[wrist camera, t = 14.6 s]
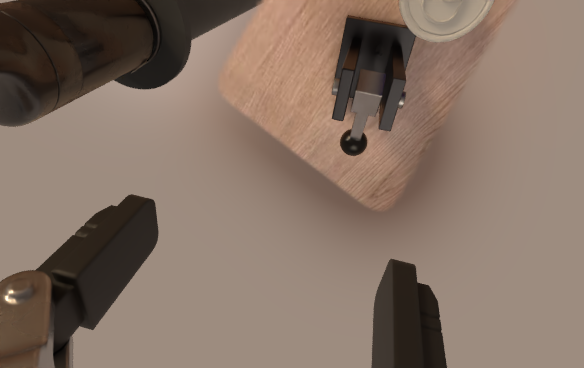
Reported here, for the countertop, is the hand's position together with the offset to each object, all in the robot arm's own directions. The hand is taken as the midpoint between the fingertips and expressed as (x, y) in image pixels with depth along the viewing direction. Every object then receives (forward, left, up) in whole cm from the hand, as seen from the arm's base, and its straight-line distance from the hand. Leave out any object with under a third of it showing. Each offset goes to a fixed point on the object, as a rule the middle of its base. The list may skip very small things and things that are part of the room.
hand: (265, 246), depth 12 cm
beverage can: (+6, +6, -32) cm, 33 cm away
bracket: (+3, -2, -32) cm, 32 cm away
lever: (+3, -5, -25) cm, 26 cm away
